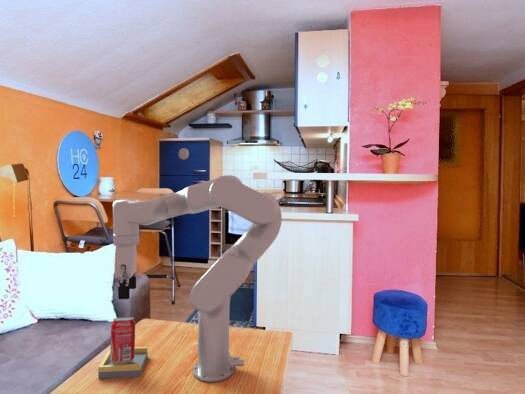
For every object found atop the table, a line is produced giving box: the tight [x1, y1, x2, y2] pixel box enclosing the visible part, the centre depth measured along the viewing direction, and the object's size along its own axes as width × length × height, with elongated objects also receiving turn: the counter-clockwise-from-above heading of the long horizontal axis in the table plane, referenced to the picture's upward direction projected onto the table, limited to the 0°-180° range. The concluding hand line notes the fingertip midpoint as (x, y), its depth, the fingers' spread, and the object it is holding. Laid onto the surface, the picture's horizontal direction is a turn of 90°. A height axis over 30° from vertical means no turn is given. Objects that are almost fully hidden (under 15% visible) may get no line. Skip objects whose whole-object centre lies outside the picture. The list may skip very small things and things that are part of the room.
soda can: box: [109, 316, 136, 365], centre depth 117 cm, size 7×7×13 cm
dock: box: [97, 346, 149, 380], centre depth 118 cm, size 12×12×4 cm
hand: (127, 293), depth 117 cm, fingers open, 9 cm apart
